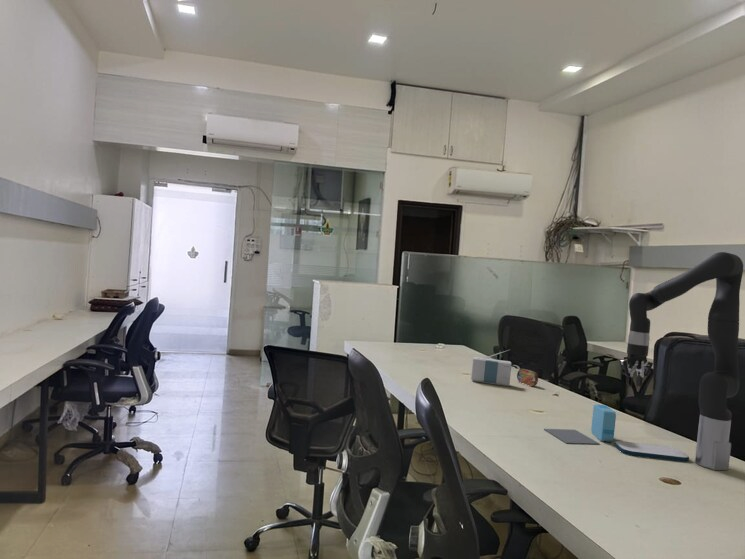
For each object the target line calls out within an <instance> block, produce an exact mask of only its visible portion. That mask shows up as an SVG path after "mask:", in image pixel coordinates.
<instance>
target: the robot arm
mask: <svg viewBox="0 0 745 559" xmlns="http://www.w3.org/2000/svg"><path fill="white" fill-rule="evenodd" d="M743 272H744V263H743V260H742V259H741V257H739V256H738V255H737V254H734V253H730V252H727V251H720V252H716V253H714V254H712V255H710V256H708V257H707V258H706V259H704V260H703V261H701V262H700V263H699V264H697V265H695V266H694V267H692V268H690V269H688V270H687V271H685V272H682V273H681V274H678V275H677V276H675V277H672V278H670V279H668V280H666V281H663V282H662V283H661V282H660V284H657V285H655V286H654V287H653V289H652V290H651V291H648V292H645V293H643V292H637V293H634V294H632V295H631V297H630V299H629V303H628V309H629V316H630V324H629V325H630V326H629V333H628V337H627V338H628V339H627V346H626V347H627V348H626V353H627V356H626V358H625V359H619V365H620V368H621V374H622V375H625V376H626V381H625V383H626V385H627V386H628V387H632V386H633V381H634V373H635V372H636V375H637V376H636V377H635V378H636V379H635V387H638V388H639V387H642V386H643V382H644V381H643V380H644V377H648V376H649V374H650V372H651V370H652V368H653V365H654V362H652V361H649V360H648V357H649V349H650V348H649V347H650V340H651V339H650V331H651V320H650V318H648V314H647V313H648V312H650V311H652V310H655V309H656V308H658V307H660V306H662V305H663V304H665V303H666V302H669V301H671V300H673V299H676V298H678V297H680V296H682V295H684V294H685V293H688V292H689V291H690V290H692V289H694V288H695V287H697V286H699V285H701V284H704V283H705V282H708V281H712V280H716V281H715V282H716V284H715V285H716V286H715V287H716V288H715V294H714V295H715V296H714V298H713V301H712V304H711V306H710V308H709V312H708V316H707V335H708V340H709V343H710V345H711V347H712V351H713V353H714V354H713V355H714V371H709V372H708V371H707V372H706V373H704V374H703V375H702V376H701V378H700V381H699V386H698V387H699V389H698V407H699V421H698V430H697V437H696V438H697V439H696V445H695V446H696V447H695V456H694V457H695V458H694V463H695V464H697V465H699V466H701V467H704V468H707V469H710V470H712V471H729V468H730V459H731V450H732V442H730V433H731V426H732V425H731V424H732V416H733V414H732V412H731V411H730V410H729V409H728V407H727V402H728V400H727V399H728V398H730V399H731V398H732V397H736V395H737V394H738V392H739V389H740V374H739V361H738V360H739V359H738V358H739V357H738V356H739V355H738V354H739V334H740V333H739V332H740V304H741V303H740V291H741V284H742V279H743Z"/></svg>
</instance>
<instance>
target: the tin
mask: <svg viewBox="0 0 745 559" xmlns="http://www.w3.org/2000/svg"><path fill="white" fill-rule="evenodd" d="M516 373H517V374H516V377H517V378H516V379H517V381H518V382H519V383H520V382H521V383H520V384H522V383H524V384H523V385H525V384H527V385H526V386H528V385H529V386H528V387H536V386H537V385H538V382H539V375H538V374H537V372H536V371H533V370H530V369H525V368H520V369H519V370H518V371H517V372H516Z"/></svg>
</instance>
